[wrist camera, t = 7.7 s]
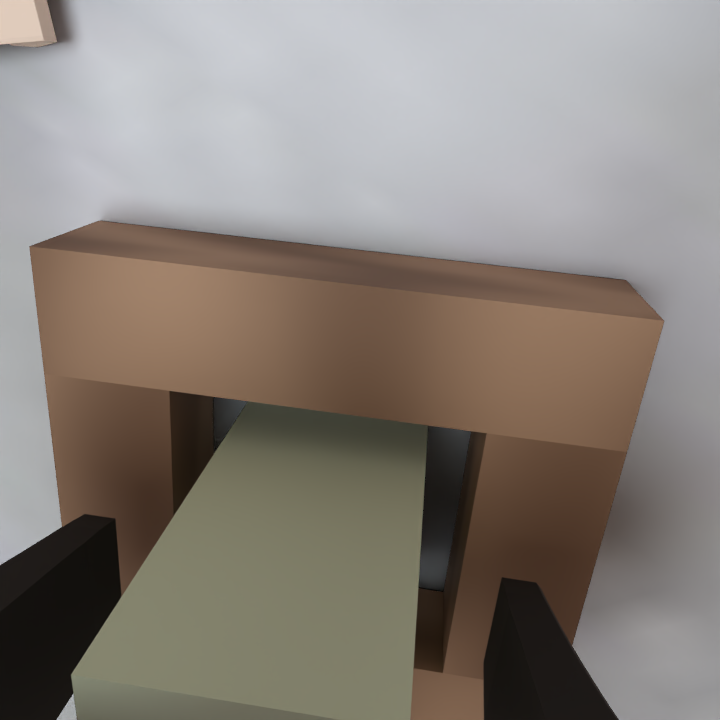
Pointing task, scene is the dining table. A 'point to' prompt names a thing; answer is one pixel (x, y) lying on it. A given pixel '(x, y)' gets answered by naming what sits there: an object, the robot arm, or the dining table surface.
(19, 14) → the newspaper
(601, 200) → the dining table surface
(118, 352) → the socket block
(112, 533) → the robot arm
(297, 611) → the peg
